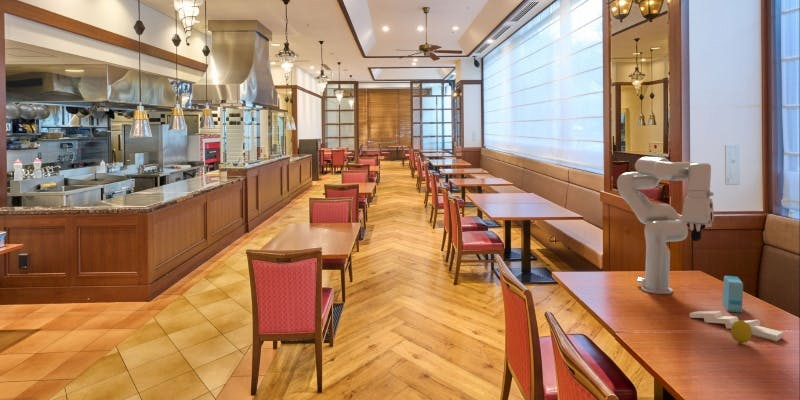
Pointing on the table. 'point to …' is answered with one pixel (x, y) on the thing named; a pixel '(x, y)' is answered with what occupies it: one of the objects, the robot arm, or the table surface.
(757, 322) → the tile
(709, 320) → the tile
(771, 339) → the tile
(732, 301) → the data package
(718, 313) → the tile
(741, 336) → the lemon
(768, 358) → the table surface
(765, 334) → the tile
